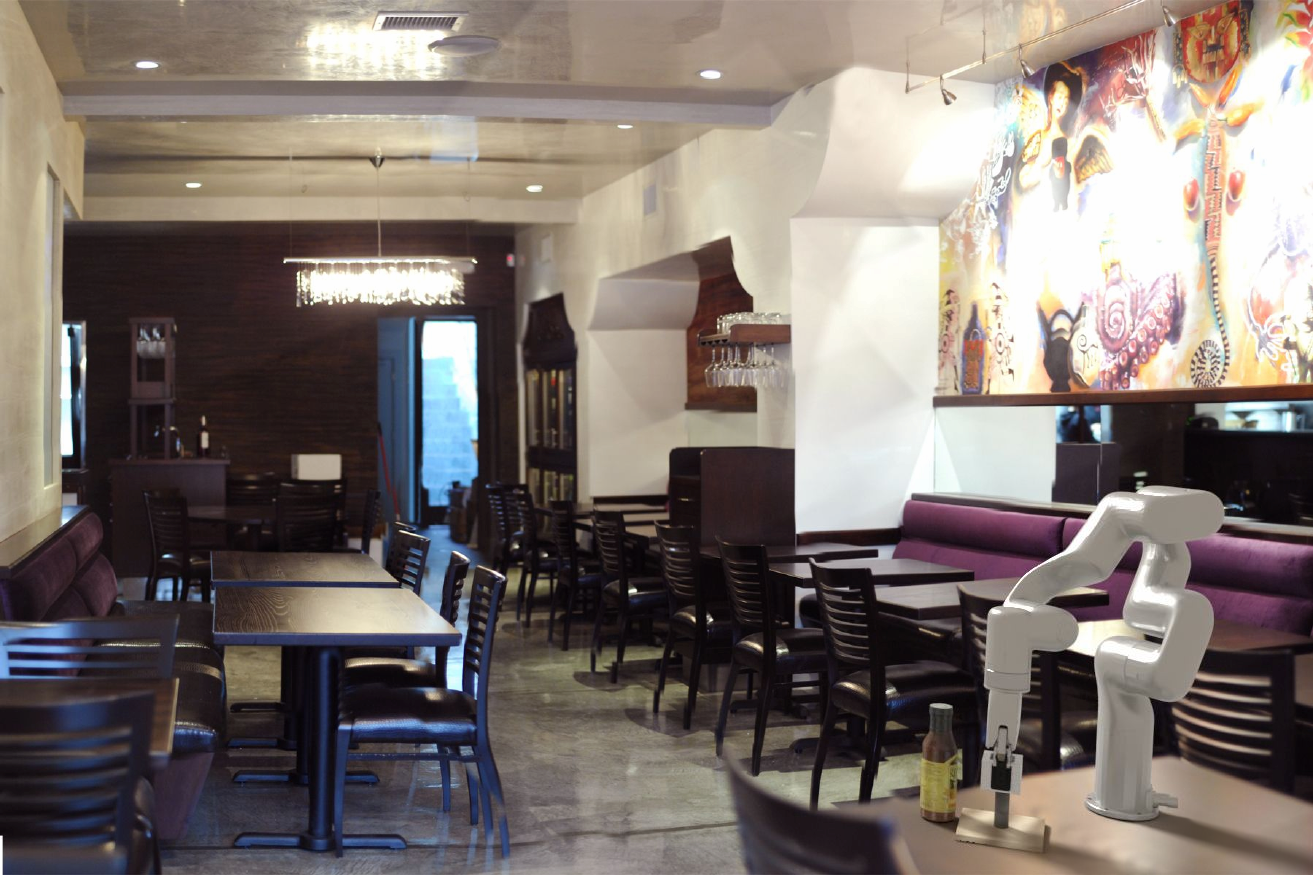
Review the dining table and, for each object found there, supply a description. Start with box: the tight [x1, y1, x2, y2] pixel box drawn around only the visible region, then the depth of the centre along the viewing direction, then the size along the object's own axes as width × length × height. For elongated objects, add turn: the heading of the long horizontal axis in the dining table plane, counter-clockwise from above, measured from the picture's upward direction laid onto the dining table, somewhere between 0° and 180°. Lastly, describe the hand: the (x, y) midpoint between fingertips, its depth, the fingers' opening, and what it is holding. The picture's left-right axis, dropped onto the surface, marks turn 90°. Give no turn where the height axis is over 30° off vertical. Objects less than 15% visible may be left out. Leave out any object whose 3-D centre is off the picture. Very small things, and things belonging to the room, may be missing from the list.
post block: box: [954, 791, 1046, 854], centre depth 206 cm, size 14×14×7 cm
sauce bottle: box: [919, 702, 959, 823], centre depth 213 cm, size 6×6×20 cm
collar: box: [979, 749, 1024, 796], centre depth 206 cm, size 6×6×5 cm
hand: (1001, 782), depth 206 cm, fingers closed on collar, 6 cm apart
